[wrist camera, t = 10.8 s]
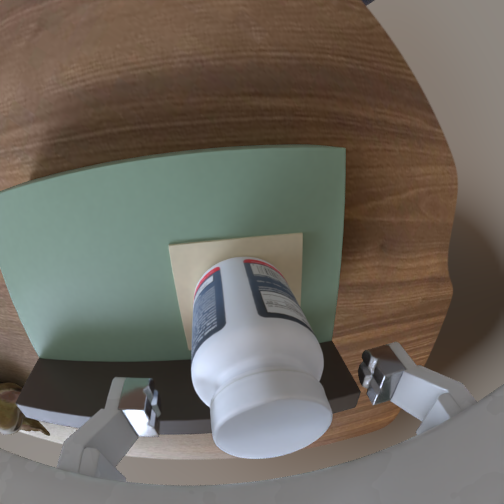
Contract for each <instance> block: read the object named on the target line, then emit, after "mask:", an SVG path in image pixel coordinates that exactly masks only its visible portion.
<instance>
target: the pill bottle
mask: <svg viewBox="0 0 504 504" xmlns="http://www.w3.org/2000/svg"><path fill="white" fill-rule="evenodd" d="M323 367H324V359H323V353H322V349H321V347H320V344H319V342H318V340H317V338H316V336H315V334H314V332H313V330H312V329H311V327H310V325H309V323H308V321H307V319H306V317H305V315H304V313H303V311H302V309H301V308H300V306H299V304H298V302H297V300H296V298H295V296H294V294H293V293H292V291H291V289H290V287H289V285H288V283H287V281H286V280H285V278H284V277H283V275H282V274H281V272H280V271H279V270H278V269H277V268H276V267H274V266H273V265H272V264H270V263H268V262H267V261H264V260H262V259H259V258H255V257H234V258H230V259H227V260H224V261H222V262H219V263H217V264H216V265H214V266H213V267H211V268H210V269H209V270H208V271H206V272H205V274H204V275H203V276H202V277H201V279H200V280H199V282H198V284H197V286H196V289H195V293H194V300H193V321H192V351H191V374H192V382H193V386H194V388H195V391H196V393H197V394H198V396H199V397H200V399H201V400H202V401H203V402H204V403H205V404H206V405H207V406H209V407H210V416H211V428H212V435H213V440H214V442H215V444H216V445H217V446H218V447H219V448H220V449H221V450H222V451H224V452H226V453H228V454H230V455H233V456H237V457H241V458H252V459H259V458H260V459H261V458H271V457H277V456H282V455H285V454H289V453H292V452H295V451H297V450H299V449H302V448H304V447H306V446H308V445H309V444H311V443H313V442H314V441H316V440H317V439H318V438H320V437H321V436H322V435H323V434H324V433H325V432H326V430H327V429H328V428H329V426H330V424H331V421H332V409H331V407H330V404H329V402H328V400H327V397H326V395H325V391H324V388H323V386H322V385H321V383H320V382H319V381H320V379H321V376H322V372H323Z"/></svg>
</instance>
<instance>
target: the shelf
mask: <svg viewBox="0 0 504 504" xmlns="http://www.w3.org/2000/svg"><path fill="white" fill-rule="evenodd" d="M345 177H346V149H345V148H342V147H333V146H322V145H310V144H287V145H253V146H234V147H220V148H208V149H197V150H187V151H178V152H170V153H162V154H155V155H148V156H141V157H135V158H129V159H123V160H117V161H112V162H106V163H101V164H96V165H91V166H87V167H82V168H77V169H73V170H69V171H65V172H60V173H56V174H53V175H49V176H45V177H41V178H38V179H34V180H30V181H27V182H24V183H21V184H18V185H16V186H13V187H10V188H7V189H5V190H2V191H0V268H1V271H2V274H3V277H4V280H5V283H6V285H7V288H8V291H9V293H10V296H11V299H12V301H13V304H14V306H15V308H16V311H17V313H18V315H19V318H20V320H21V322H22V324H23V326H24V329H25V331H26V333H27V335H28V337H29V339H30V341H31V343H32V345H33V347H34V349H35V351H36V353H37V354H38V356H39V359H38V361H37V363H36V364H35V366H34V368H33V370H32V372H31V373H30V375H29V377H28V379H27V381H26V383H25V385H24V387H23V389H22V391H21V393H20V395H19V397H18V399H17V401H16V405H17V406H18V408H19V409H20V410H21V411H22V413H23V414H24V415H25V416H26V417H27V418H31V419H35V420H39V421H43V422H48V423H53V424H58V425H64V426H69V427H76V428H80V427H81V426H82V425H83V424H85V423H86V422H87V421H88V420H89V419H90V418H91V417H92V416H94V415H95V414H96V413H97V412H98V411H99V410H100V409H105V405H106V401H107V398H108V394H109V391H110V387H111V384H112V380H113V379H114V378H115V377H126V378H127V377H130V378H152V379H153V381H154V383H155V390H157V391H158V392H159V395H160V398H161V406H162V409H161V415H160V416H159V417H158V420H159V422H160V431H159V434H203V433H212V428H211V416H210V407H209V406H207V405H206V404H205V403H204V402H203V401H202V400H201V399H200V397H199V396H198V394H197V393H196V391H195V388H194V386H193V382H192V374H191V351H192V321H193V300H194V293H195V289H196V286H197V284H198V282H199V280H200V279H201V277H202V276H203V275H204V274H205V272H206V271H208V270H209V269H210V268H211V267H213V266H214V265H216V264H217V263H219V262H222V261H224V260H227V259H230V258H234V257H255V258H259V259H262V260H264V261H267V262H268V263H270V264H272V265H273V266H274V267H276V268H277V269H278V270H279V271H280V272H281V274H282V275H283V277H284V278H285V280H286V281H287V283H288V285H289V287H290V289H291V291H292V293H293V294H294V296H295V298H296V300H297V302H298V304H299V306H300V308H301V309H302V311H303V313H304V315H305V317H306V319H307V321H308V323H309V325H310V327H311V329H312V330H313V332H314V334H315V336H316V338H317V340H318V342H319V344H320V347H321V349H322V353H323V359H324V367H323V372H322V376H321V379H320V381H319V382H320V383H321V385H322V386H323V388H324V391H325V395H326V397H327V400H328V402H329V404H330V407H331V409H332V414H333V413H337V412H341V411H344V410H348V409H351V408H355V407H356V404H357V402H358V399H359V396H360V393H361V392H360V390H359V388H358V386H357V384H356V382H355V381H354V379H353V377H352V375H351V373H350V372H349V370H348V368H347V366H346V365H345V363H344V361H343V359H342V357H341V356H340V354H339V352H338V350H337V349H336V347H335V345H334V343H333V342H332V335H333V328H334V320H335V313H336V305H337V296H338V287H339V278H340V267H341V256H342V243H343V228H344V208H345Z"/></svg>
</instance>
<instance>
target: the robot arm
mask: <svg viewBox="0 0 504 504" xmlns="http://www.w3.org/2000/svg"><path fill="white" fill-rule="evenodd" d="M362 359H363V362H362V363H361V364H360V365H359V369H358V376H359V380H360V383H361V385H362V386H363V387H365V388H367V389H368V390H367V396H368V397H369V399H370V401H371V403H372V405H376V404H379V403H383V402H386V401H389V400H391V402H393V403H394V404H396V405H397V406H399V407H401V408H402V409H404V410H405V411H407V412H408V413H410V414H411V415H413V416H415V417H416V418H418V419H419V420H421V421H422V423H421V424H420V426H419V427H418V429H417V431H416V433H417V435H416V436H414V437H412V438H410V439H408V440H405V441H403V442H401V443H398V444H396V445H394V446H391V447H389V448H386V449H383V450H381V451H378V452H376V453H373V454H370V455H367V456H364V457H361V458H358V459H356V460H352V461H349V462H345V463H342V464H339V465H336V466H331V467H328V468H324V469H320V470H316V471H312V472H307V473H303V474H298V475H293V476H288V477H282V478H276V479H270V480H263V481H255V482H247V483H237V484H223V485H200V486H179V485H178V486H177V485H154V484H143V483H132V482H126V478H125V477H124V476H123V475H122V474H121V473H120V472H119V471H118V470H117V469H116V468H115V467H116V466H117V464H118V463H119V462H120V461H121V460H122V458H123V457H124V456H125V454H126V453H127V452H128V451H129V449H130V448H131V447H132V445H133V444H134V443H135V442H136V440H137V439H138V436H139V437H159V431H160V422H159V420H158V417H159V416H160V415H161V409H162V406H161V398H160V395H159V392H158V391H157V390H155V383H154V381H153V379H152V378H130V377H127V378H126V377H115V378H114V379H113V380H112V384H111V387H110V391H109V394H108V398H107V401H106V405H105V409H100V410H99V411H98V412H97V413H96V414H95V415H94V416H92V417H91V418H90V419H89V420H88V421H87V422H86V423H85V424H83V425H82V426H81V427H80V428H79V429H78V430H77V431H76V432H74V433H73V434H72V435H71V436H70V437H69V438H68V439H66V440H65V441H64V443H63V447H62V450H61V454H60V457H59V461H58V465H57V468H55V467H52V466H48V465H45V464H42V463H39V462H35V461H32V460H29V459H27V458H24V457H21V456H19V455H16V454H13V453H11V452H8V451H6V450H4V449H1V448H0V504H504V384H503V385H501V386H500V387H498V388H497V389H496V390H494V391H493V392H491V393H490V394H489V395H487V396H486V397H484V398H483V399H481V400H480V401H478V402H477V401H476V400H475V399H474V397H473V396H472V395H471V394H470V392H469V391H468V390H467V388H466V387H465V386H464V385H463V383H460V382H458V381H455V380H453V379H451V378H449V377H446V376H444V375H441V374H439V373H437V372H434V371H432V370H430V369H427V368H425V367H423V366H421V365H418V366H417V365H416V364H415V363H414V362H413V360H412V359H411V358H410V356H409V355H408V354H407V353H406V351H405V350H404V349H403V348H402V346H401V345H400V344H399V343H398V342H394V343H390V344H386V345H383V346H379V347H375V348H372V349H368V350H365V351H364V352H363V354H362Z"/></svg>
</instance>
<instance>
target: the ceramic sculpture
mask: <svg viewBox="0 0 504 504" xmlns="http://www.w3.org/2000/svg"><path fill="white" fill-rule="evenodd" d="M22 389H23V388H21V387H20V386H18V385H17V384H15V383H2V384H0V433H2V434H3V435H12V434H15V433H17V432H18V431H19V430H21V429H22V430H25V431H31V430H33V431H41V432H42V433H44V434H45V435H49V436H50V433H49V432H48V431H47V430H46V429H45V428H44V426H43V425H42V424H41V423H40V422H39V421H38V420H35V419H31V418H27V417H26V416H25V415H24V414H23V413H22V411H21V410H20V409H19V408H18V406H17V405H16V401H17V399H18V397H19V395H20V393H21V391H22Z"/></svg>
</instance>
